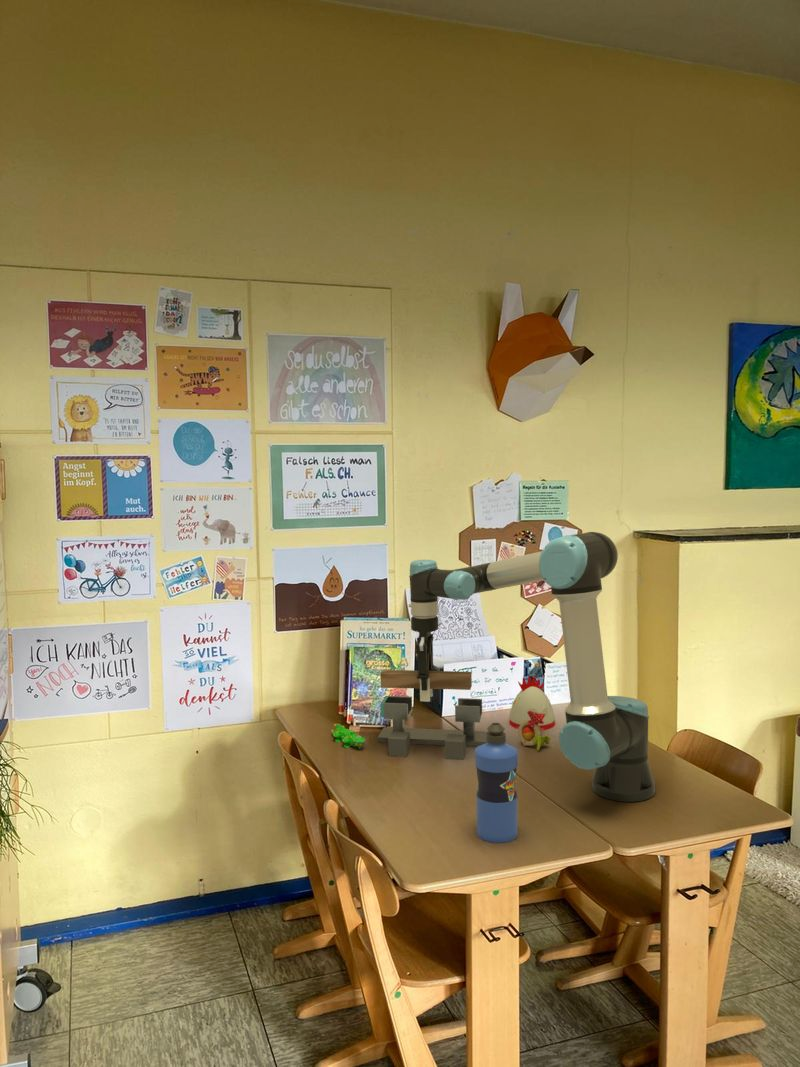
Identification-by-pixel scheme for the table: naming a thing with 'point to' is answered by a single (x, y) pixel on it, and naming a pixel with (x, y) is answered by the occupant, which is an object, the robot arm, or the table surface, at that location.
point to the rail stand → (464, 712)
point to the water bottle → (496, 787)
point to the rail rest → (401, 745)
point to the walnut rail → (437, 678)
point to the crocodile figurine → (347, 736)
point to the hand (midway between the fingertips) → (426, 698)
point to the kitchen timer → (531, 705)
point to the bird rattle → (528, 731)
